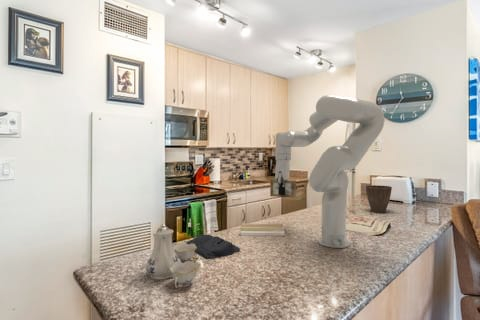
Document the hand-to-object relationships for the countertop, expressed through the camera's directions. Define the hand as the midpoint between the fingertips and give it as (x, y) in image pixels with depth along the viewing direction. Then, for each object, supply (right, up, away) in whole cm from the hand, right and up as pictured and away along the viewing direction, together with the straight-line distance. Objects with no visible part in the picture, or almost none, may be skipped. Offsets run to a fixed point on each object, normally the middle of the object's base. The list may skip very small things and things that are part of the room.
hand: (283, 193), depth 140 cm
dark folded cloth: (-33, -19, -27) cm, 47 cm away
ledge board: (-11, -18, -6) cm, 21 cm away
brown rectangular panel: (0, -1, 0) cm, 1 cm away
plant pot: (+66, -16, +38) cm, 77 cm away
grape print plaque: (+38, -18, +6) cm, 43 cm away
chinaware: (-43, -19, -50) cm, 69 cm away
